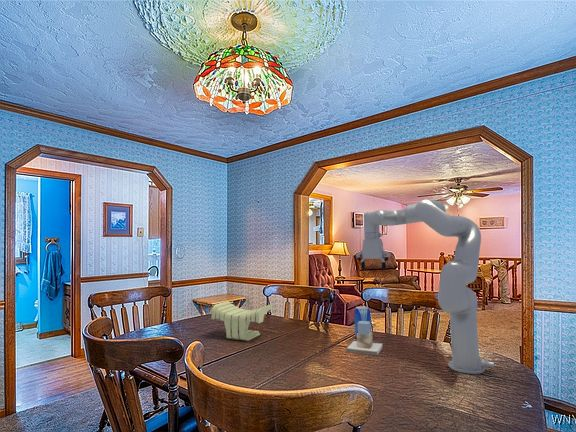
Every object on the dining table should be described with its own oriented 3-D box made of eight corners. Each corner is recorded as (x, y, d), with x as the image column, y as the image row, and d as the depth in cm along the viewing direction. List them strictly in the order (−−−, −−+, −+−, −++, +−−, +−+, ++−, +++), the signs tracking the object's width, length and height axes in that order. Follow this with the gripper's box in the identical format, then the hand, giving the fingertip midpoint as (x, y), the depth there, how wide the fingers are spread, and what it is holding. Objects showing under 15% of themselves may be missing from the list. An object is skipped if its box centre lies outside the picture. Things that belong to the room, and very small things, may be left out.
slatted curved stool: (211, 338, 181) (211, 305, 183) (228, 331, 196) (228, 300, 197) (259, 343, 169) (258, 308, 171) (273, 335, 184) (272, 303, 185)
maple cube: (372, 345, 157) (372, 332, 158) (370, 348, 152) (369, 335, 152) (360, 343, 160) (359, 331, 160) (357, 347, 154) (356, 334, 155)
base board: (382, 346, 159) (382, 343, 159) (377, 355, 146) (376, 352, 147) (354, 343, 165) (354, 340, 165) (346, 352, 153) (346, 348, 153)
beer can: (373, 340, 170) (371, 308, 171) (356, 340, 170) (355, 309, 171) (369, 336, 178) (368, 305, 180) (354, 336, 178) (352, 306, 180)
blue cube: (370, 332, 158) (370, 321, 158) (368, 334, 153) (368, 323, 154) (360, 331, 160) (359, 320, 160) (357, 334, 155) (357, 323, 156)
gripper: (390, 235, 167) (392, 270, 165) (357, 237, 174) (358, 269, 173) (388, 235, 160) (390, 271, 158) (353, 236, 167) (354, 270, 166)
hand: (373, 270), depth 165 cm, fingers open, 9 cm apart
